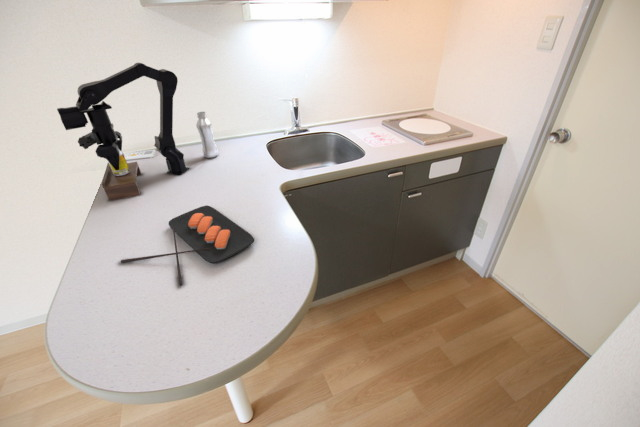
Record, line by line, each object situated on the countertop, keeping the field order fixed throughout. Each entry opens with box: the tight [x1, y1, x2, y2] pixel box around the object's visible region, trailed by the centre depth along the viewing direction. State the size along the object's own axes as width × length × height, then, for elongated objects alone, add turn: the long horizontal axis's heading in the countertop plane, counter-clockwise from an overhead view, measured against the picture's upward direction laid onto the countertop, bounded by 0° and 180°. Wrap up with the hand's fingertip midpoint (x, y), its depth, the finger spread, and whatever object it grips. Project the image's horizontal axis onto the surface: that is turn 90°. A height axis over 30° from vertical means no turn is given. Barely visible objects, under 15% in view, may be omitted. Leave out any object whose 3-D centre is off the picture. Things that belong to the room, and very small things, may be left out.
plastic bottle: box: [196, 111, 219, 158], centre depth 138 cm, size 6×7×20 cm
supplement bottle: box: [107, 148, 130, 176], centre depth 115 cm, size 6×6×10 cm
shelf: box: [101, 161, 143, 202], centre depth 119 cm, size 20×10×7 cm, turn 25°
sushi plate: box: [120, 205, 255, 286], centre depth 87 cm, size 29×30×4 cm
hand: (118, 165), depth 116 cm, fingers open, 9 cm apart
